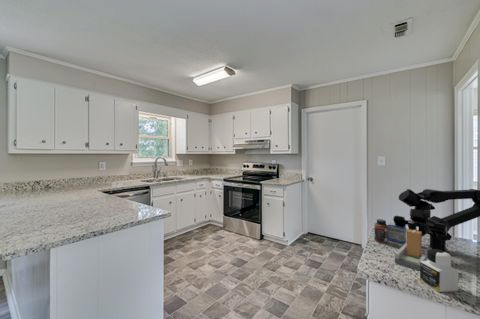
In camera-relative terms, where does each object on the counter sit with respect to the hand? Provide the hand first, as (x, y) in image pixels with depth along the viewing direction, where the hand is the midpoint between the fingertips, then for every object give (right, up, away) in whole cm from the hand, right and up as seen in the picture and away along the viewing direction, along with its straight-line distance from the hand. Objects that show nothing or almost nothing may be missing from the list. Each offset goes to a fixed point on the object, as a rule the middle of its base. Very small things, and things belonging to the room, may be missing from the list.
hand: (415, 241), depth 96 cm
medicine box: (+5, -7, +18) cm, 20 cm away
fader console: (-3, -7, -2) cm, 8 cm away
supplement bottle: (-4, -7, +18) cm, 19 cm away
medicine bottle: (-9, -8, -21) cm, 24 cm away
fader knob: (-3, -5, -2) cm, 6 cm away
